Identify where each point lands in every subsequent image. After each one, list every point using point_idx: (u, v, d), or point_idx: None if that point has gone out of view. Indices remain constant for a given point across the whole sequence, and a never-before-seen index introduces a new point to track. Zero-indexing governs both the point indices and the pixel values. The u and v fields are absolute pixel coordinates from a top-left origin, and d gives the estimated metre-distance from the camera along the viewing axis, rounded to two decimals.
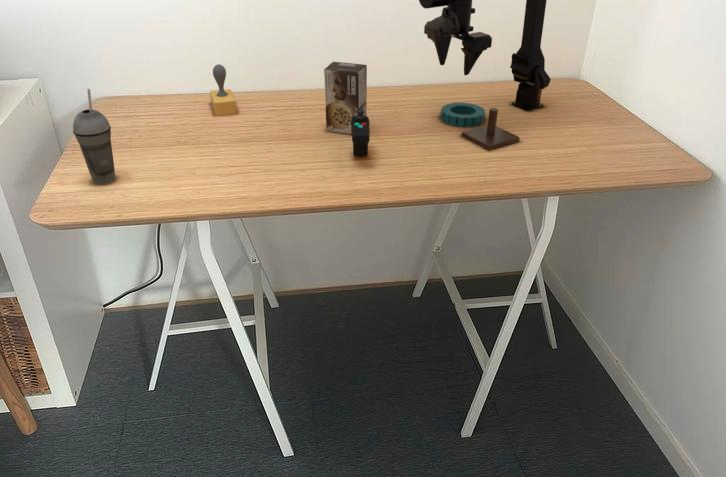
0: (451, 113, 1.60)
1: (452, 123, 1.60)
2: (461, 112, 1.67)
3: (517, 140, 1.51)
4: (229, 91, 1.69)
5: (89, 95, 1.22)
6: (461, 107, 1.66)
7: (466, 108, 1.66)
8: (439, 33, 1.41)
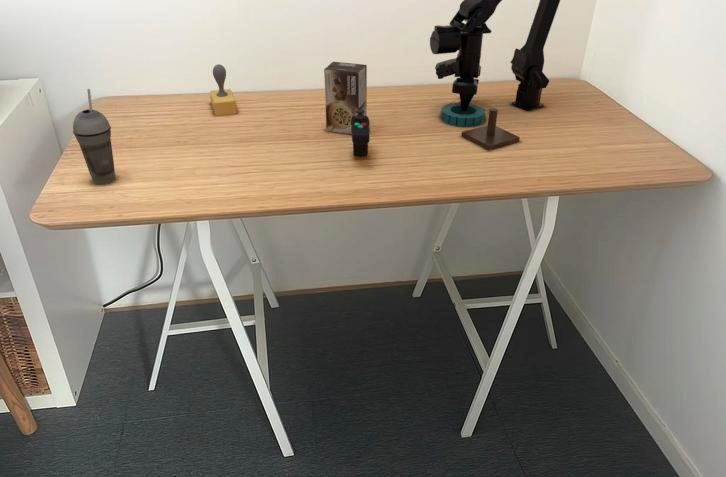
0: (451, 113, 1.61)
1: (452, 123, 1.60)
2: (461, 112, 1.67)
3: (517, 140, 1.51)
4: (229, 91, 1.69)
5: (89, 95, 1.22)
6: None
7: None
8: (436, 71, 1.60)
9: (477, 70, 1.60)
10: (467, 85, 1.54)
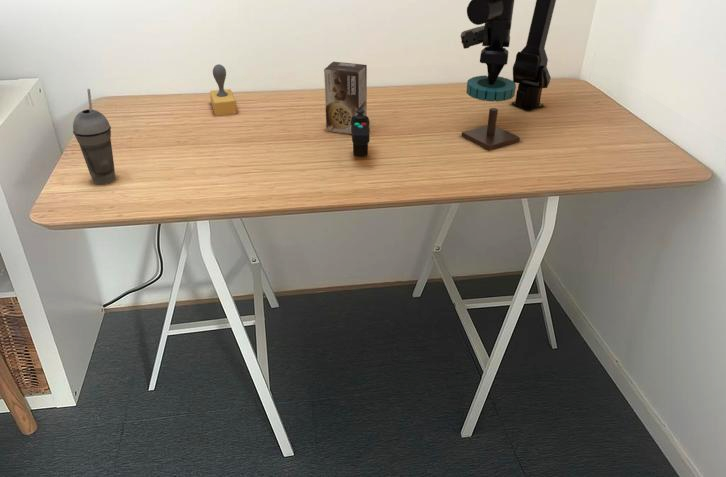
0: (479, 87, 1.45)
1: (480, 98, 1.44)
2: (488, 86, 1.51)
3: (517, 140, 1.51)
4: (229, 91, 1.69)
5: (89, 95, 1.22)
6: (488, 81, 1.51)
7: None
8: None
9: (507, 38, 1.44)
10: (497, 54, 1.39)
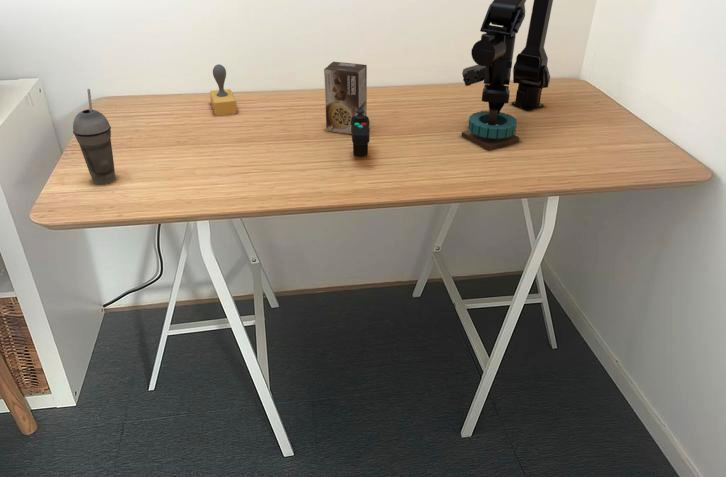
0: (481, 124, 1.48)
1: (483, 135, 1.47)
2: None
3: (517, 140, 1.51)
4: (229, 91, 1.69)
5: (89, 95, 1.22)
6: None
7: None
8: (463, 78, 1.48)
9: (508, 76, 1.47)
10: (498, 93, 1.42)
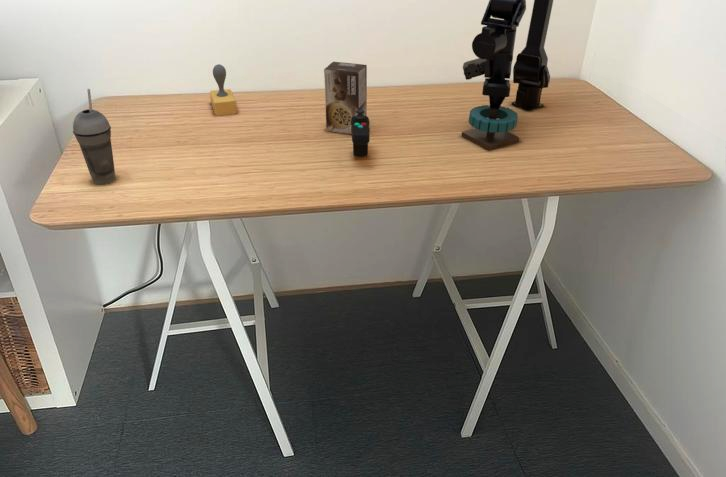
0: (482, 118, 1.47)
1: (483, 129, 1.46)
2: None
3: (517, 140, 1.51)
4: (229, 91, 1.69)
5: (89, 95, 1.22)
6: None
7: None
8: (464, 72, 1.47)
9: (509, 70, 1.46)
10: (499, 86, 1.41)
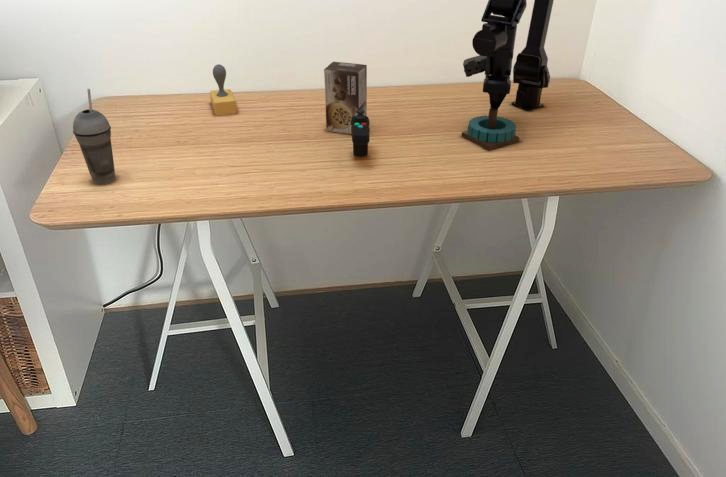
0: (480, 128, 1.49)
1: (482, 139, 1.48)
2: None
3: (517, 140, 1.51)
4: (229, 91, 1.69)
5: (89, 95, 1.22)
6: None
7: None
8: (464, 69, 1.46)
9: (509, 67, 1.46)
10: (500, 83, 1.40)
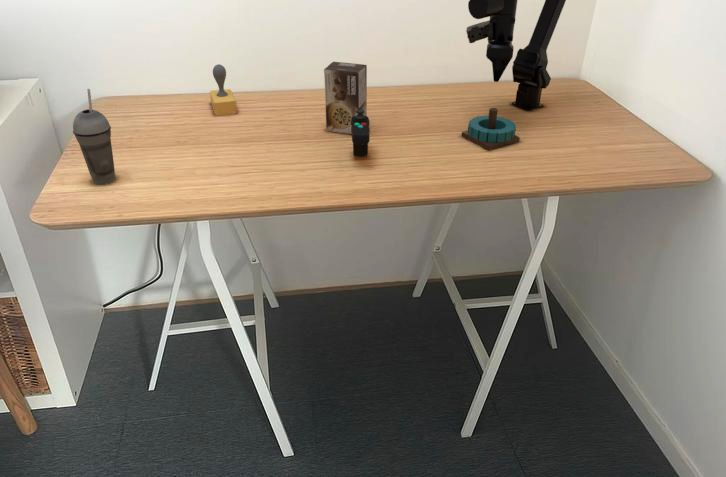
0: (480, 128, 1.49)
1: (482, 139, 1.48)
2: None
3: (517, 140, 1.51)
4: (229, 91, 1.69)
5: (89, 95, 1.22)
6: None
7: None
8: (467, 35, 1.50)
9: (511, 33, 1.50)
10: (503, 48, 1.44)
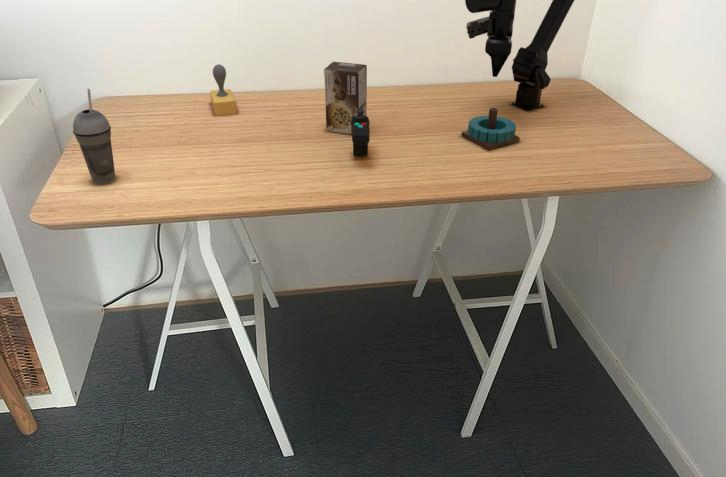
0: (480, 128, 1.49)
1: (482, 139, 1.48)
2: None
3: (517, 140, 1.51)
4: (229, 91, 1.69)
5: (89, 95, 1.22)
6: None
7: None
8: (467, 30, 1.53)
9: (511, 28, 1.52)
10: (501, 43, 1.47)
